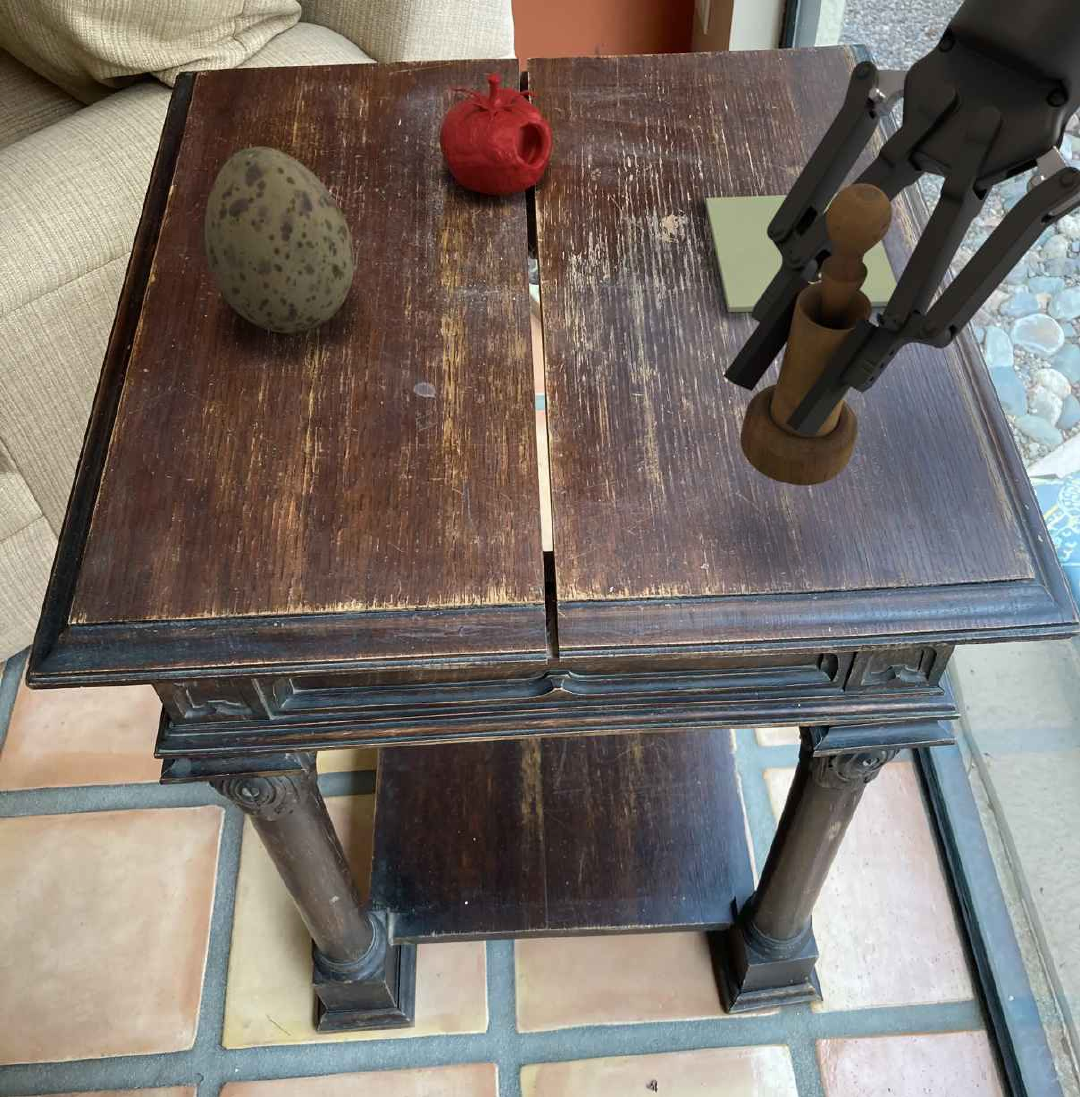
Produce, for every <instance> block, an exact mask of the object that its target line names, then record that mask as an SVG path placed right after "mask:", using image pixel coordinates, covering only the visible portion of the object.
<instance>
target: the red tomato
mask: <svg viewBox="0 0 1080 1097" xmlns="http://www.w3.org/2000/svg"><path fill="white" fill-rule="evenodd" d="M499 74H500V73H496V72H494V73H490V74H488V79H487V83H488V84H489V92H485V93H479V92H474V91H470V90H469V89H467V88H466V87H462V88H453V87H451V90H452V91H454V92H466V93H468V94H469V95H471V96H469V97H467V98H465V99H463V101H461V102H460V103H458V104H457V105H456V106H454V107H452V108H450V110H449V111H448V112H447V113H446V114H445V117H444V119H443V122H442V124H441V127H440V128H441V129H440V130H439V147H440V151H441V154H442V158H443V160H444V162H445V164H446V166H447V168H448V170H449V172H450V173H451V174H452V176H453V177H454V179H455V180H457V182H458V183H459V184H460V185H461V186H462V187H464V188H465V189H467V190H470V191H473V192H476V193H481V194H486V195H492V196H505V195H510V194H511V195H513V194H517V193H520V192H523V191H525V190H528V189H529V188H531V187H533V186H534V185H535V184H536V183H537V182H538V181H540V179H541V178H542V175H543V174H544V172H545V170H546V168H547V166H548V163H549V159H550V155H551V153H552V147H553V132H552V126H551V124H550V122H549V121H548V119H546V118H544V117H543V115H542V113H541V111H540V109H539V108H538V107H537V106H536V105H534V104H532V103H531V102H530V101H529V100H528V99H527V98H526V97H525V96H524V95H528V96H530V97H532V98H537V97H538V95H539V93H536V94H535V93H533V92H532V91H530V90H528V89H524V90H522V91H519V90H518V89H515V88H513V87H507V86H506V87H500V86H501V76H500V75H499Z"/></svg>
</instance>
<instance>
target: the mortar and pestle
mask: <svg viewBox="0 0 1080 1097" xmlns="http://www.w3.org/2000/svg"><path fill="white" fill-rule="evenodd" d="M850 185H851V184H850ZM850 185H848V186H847V187H845V188H843V189H841V190H840V191H838V192H837V193H838V194H837V195H836V196H835V197H834V199H833V200H832V201H831V203H830V205H829V207H828V210H827V215H826V226H827V230H828V233H829V236H830V238H831V241H832V243H833V245H834V255H833V256H830V257H828V258H827V259H825V260H824V262H823V264H822V269H821V282H817V283H814V284H811V285H809V286H807V287H806V288H804V289H803V290H802V291H801V292H800V294H799V296H798V298H797V301H796V306H795V310H794V314H793V319H792V323H791V327H790V331H789V336H788V340H787V342H786V344H785V348H784V353H783V356H782V361H781V365H780V368H779V371H778V377H777V381H776V383H775V384H772V385H769V386H767V387H765V388H763V389H762V390H760V391H759V392H757V393H756V394H755V395H754V396H752V398H751V399H750V401H749V403H748V405H747V407H746V410H745V413H744V418H743V422H742V426H741V431H740V438H739V439H740V440H739V441H740V447H741V450H742V452H743V454H744V457H745V459H746V460H747V461H748V462H749V464H750V465H751V466H752V467H753V468H754V469H755V470H756V471H757V472H759V473H761V474H762V475H763V476H765V477H767V478H769V479H771V480H772V481H773V480H774V481H776V482H779V483H785V484H789V485H790V484H791V485H795V486H814V485H819V484H822V483H823V484H824V483H825V482H829V481H831V480H833V479H834V478H836V477H837V476H838V475H840V474H841V473H842V472H843V471H844V470H845V468H846V467H847V465H848V464H849V462H850V460H851V457H852V454H853V450H854V447H855V444H856V441H857V438H858V433H859V425H858V421H857V417H856V414H855V412H854V411H853V409H852V408H851V406H850V405H849V404H848V403H847V402H846V401H845V398H846V394H845V395H844V396H843V398H842V399H841V400H840V402H839V403H838V404H837V406H836V407H835V408H834V410H833V411H832V412H831V414H830V415H829V416H828V418H827V419H826V421H825V422H824V423H823V425H822V426H821V427H820V429H819V430H818V431H817V433H816V434H815V435H814V437H812V436H810V435H807V434H804V433H801V432H799V431H796V430H795V429H793V428H792V427H791V426H789V425H788V424H787V423H786V421H787V420H788V419H789V417H790V416H791V415H792V413H793V412H794V410H795V409H796V408H797V406H798V405H799V404H800V402H801V401H802V400H803V398H804V397H805V395H806V394H807V393H808V391H809V390H810V389H811V387H812V386H813V384H814V383H815V382H816V380H817V379H818V378H819V376H820V375H821V373H822V372H823V371H824V369H825V368H826V367H827V365H828V364H829V363H830V361H831V360H832V358H833V357H834V356H835V354H836V353H837V352H838V350H839V349H840V347H841V346H842V345H843V343H844V342H845V341H846V339H847V338H848V336H849V335H850V334H851V332H852V331H853V330H854V328H855V327H856V326H857V324H858V323H859V321H860V320H861V319H862V317H863V318H865V319H866V320H868V321H869V322H870V320H871V318H872V317H871V316H872V312H873V307H872V306H871V302H870V300H869V298H868V297H867V296H866V295H865V294H864V293H863V292H862V291H861V290H860V289H861V287H862V285H863V283H864V281H865V279H866V277H867V274H868V270H867V267H866V265H865V264H864V263H863V257H864V254H865V253H866V252H868V251H869V250H870V249H871V248H873V247H874V246H875V245H876V244H877V243H878V242H879V241H880V240H881V241H882V240H883V239H884V237H885V236H886V235H887V233H888V231H889V230H890V227H891V224H892V220H893V209H892V205H891V202H890V201H889V199H888V197H887V196H886V195H885V193H884V192H883V191H882V190H880V189H879V188H877V187H875V186H873V185H870V184H854V185H851V186H850Z"/></svg>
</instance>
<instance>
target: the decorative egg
mask: <svg viewBox="0 0 1080 1097" xmlns="http://www.w3.org/2000/svg"><path fill="white" fill-rule="evenodd" d="M204 242H205V243H204V244H205V251H206V257H207V261H208V262H207V263H208V266H209V269H210V272H211V275H212V277H213V279H214V282H215V284H216V286H217V288H218V289H219V292H220V293H221V295H222V296H223V297H224V299H225V300H226V302H227V303H228V304H229V305H230V306H231V307H232V309H234V310H235V312H237V313H238V314H239V315H240V316H241V317H243V318H244V319H245V320H247V321H248V322H250V323H252V324H253V325H255V326H258V327H259V328H262V329H265V330H267V331H270V332H275V333H282V334H297V333H303V332H307V331H310V330H313V329H315V328H318V327H319V326H321V325H324V323H325V322H327V321H329V320H330V319H331V318H332V317H333V316H334V315H335V314H336V313H337V312H338V310H339V309H340V308H341V306H342V305H343V304H344V302H345V300H346V299H347V295H349V292H350V290H351V287H352V282H353V280H354V273H355V252H354V251H355V250H354V244H353V239H352V235H351V232H350V228H349V225H348V223H347V221H346V218H345V216H344V214H343V212H342V210H341V208H340V207H339V205H338V203H337V201H336V200H335V198H334V197H333V196H332V194H331V193H330V191H329V190H328V189H327V187H326V186H325V185H324V184H323V182H322V181H321V180H320V179H319V178H318V177H317V176H316V175H315V174H314V173H313V172H312V171H311V170H310V169H309V168H307V167H306V166H305V165H304V164H302V163H301V162H300V161H299V160H297V159H295V158H294V157H292V156H291V155H289V154H287V153H285V152H283V151H281V150H278V149H276V148H273V147H268V146H250V147H247V148H243V149H242V150H239V151H238V152H236V153H235V154H233V156H231V157H230V158H229V159H228V160H227V161H226V162H225V164H224V165H223V166H222V167H221V170H220V171H219V173H218V174H217V176H216V178H215V179H214V182H213V184H212V187H211V190H210V193H209V197H208V200H207V205H206V210H205V218H204Z"/></svg>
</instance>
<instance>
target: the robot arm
mask: <svg viewBox="0 0 1080 1097" xmlns="http://www.w3.org/2000/svg"><path fill="white" fill-rule="evenodd" d="M899 100H902V117H901V118H902V119H901V126H900V127H899V128H898V129H896V131H895V132H894V133H893V134H892V135H891V136H890V137H889V138H888V140H886V141H885V142H884V143H883V145H881V147H880V149H879V150H878V155H877V156H876V158H875V159H874V160H873V161H872V162H871V163H870V164H869V166H868V167H866V169H865V170H863V171H862V172H861V174H860V175H858V176H857V178H856V179H855V180H854V181H853V182H852V183H851V184H850V185H849V186H851V185H854V184H870V185H873V186H875V187H877V188H879V189H880V190H882V191H883V192H884V193H885V195H886V196H887V197H888V199H889V201H890V203H891V202H892V201H893V200H894V199H896V197H897V196H898V195H899V194H900V193H901V192H902V191H903V190H904V189H905V188H907V187H910V186H912V185H914V184H915V183H916V182H917V181H918V180H920V178H921V177H922V176H924V175H925V174H930V175H934V176H939V177H942V178H943V179H944V181H943V182H942V185H941V187H940V192H939V198H938V201H937V203H936V205H935V207H934V209H933V210H932V213H931V215H930V217H929V219H928V220H927V223H926V225H925V226H924V229H923V231H922V233H921V235H920V237H919V239H918V241H917V243H916V246H915V247H914V250H913V251H912V253H911V256H910V257H909V259H908V261H907V264H906V265H905V267H904V270H903V271H902V273H901V276H900V278H899V280H898V281H897V283H896V284H897V286H896V288H895V290H894V292H893V294H892V296H891V298H890V300H889V302H888V304H887V306H885V308H884V310H883V312H882V313H880V312H878V311H877V313H876V315H875V320H876V323H877V324H878V326H877V325H875V324H874V323H872V322H871V321H870V320H869V321H868V320H866V319H865V318H863V317H862V319H861V320H860V321H859V323H858V324H857V326H856V327H855V328H854V330H853V331H852V332H851V334H850V335H849V336H848V338H847V339H846V341H845V342H844V343H843V345H842V346H841V347H840V349H839V350H838V352H837V353H836V354H835V356H834V357H833V358H832V360H831V361H830V363H829V364H828V365H827V367H826V368H825V369H824V371H823V372H822V373H821V375H820V376H819V378H818V379H817V380H816V382H815V383H814V384H813V386H812V387H811V389H810V390H809V391H808V393H807V394H806V395H805V397H804V398H803V400H802V401H801V402H800V404H799V405H798V406H797V408H796V409H795V410H794V412H793V413H792V415H791V416H790V417H789V419H788V420H787V421H786V423H787V424H788V425H789V426H791V427H792V428H793V429H795V430H796V431H799V432H801V433H804V434H807V435H810V436H812V437H814V435H815V434H816V433H817V431H818V430H819V429H820V427H821V426H822V425H823V423H824V422H825V421H826V419H827V418H828V416H829V415H830V414H831V412H832V411H833V410H834V408H835V407H836V406H837V404H838V403H839V402H840V400H841V399H842V398H843V396H844V395H845V396H846V394H847V393H848V391H849V390H850V388H853V389H854V390H855V391H857V392H859V393H861V394H864V393H865V392H866V391H868V390H870V389H871V388H872V387H873V386H874V384H875V383H876V382H877V380H878V379H879V378H880V377H881V375H882V374H883V373H884V371H885V370H886V369H887V368H888V366H889V365H890V363H891V362H892V360H893V359H894V358H895V357H896V355H897V354H898V353H899V351H900V350H901V349H902V348H903V347H904V346H906V345H908V344H912V343H913V344H914V343H915V344H920V345H926V346H930V347H933V348H935V349H944V348H948V346H950V345H951V344H952V342H953V341H954V340H955V339H956V337H957V336H958V335H959V334H960V333H961V332H962V330H963V329H964V328H965V327H966V326H967V325H968V323H969V322H970V321H971V319H972V318H973V317H974V316H975V315H976V314H977V312H978V311H979V310H980V309H981V308H982V306H984V304H985V303H986V302H987V300H988V299H989V298H990V297H991V296H992V294H994V293H995V291H996V290H997V288H998V287H999V286H1000V285H1001V284H1002V283H1003V281H1004V280H1005V279H1006V278H1007V277H1008V275H1009V274H1010V273H1011V272H1012V270H1013V269H1014V268H1015V267H1016V266H1017V265H1018V264H1019V263H1020V261H1021V260H1022V259H1023V257H1024V256H1025V255H1026V254H1027V253H1028V251H1029V250H1030V249H1031V248H1032V246H1034V244H1036V242H1037V240H1038V239H1039V238H1040V237H1041V236H1042V235H1043V233H1044V232H1045V231H1046V230H1047V229H1048V228H1049V227H1051V226H1052V225H1054V224H1055V223H1056V222H1058V221H1059V220H1061V219H1062V218H1064V217H1065V216H1068V215H1069V214H1070V213H1072V212H1074V211H1075V210H1076V209H1078V208H1079V207H1080V169H1079V168H1077V167H1075V166H1071V165H1070V164H1069V162H1068V161H1067V160H1066V158H1065V157H1064V155H1063V154H1062V151H1060V150H1061V148H1062V145H1063V142H1064V137H1065V136H1064V135H1065V130H1066V128H1067V125H1068V123H1069V121H1070V120H1071V118H1072V117H1073V116H1074V114H1076V112H1077V111H1078V110H1079V109H1080V0H963V2H962V3H961V5H960V6H959V8H957V11H956V12H955V13H954V15H953V16H952V18H950V21H949V22H948V23H947V26H946V27H945V29H944V31H943V33H942V35H941V37H940V39H939V41H938V43H936V45H935V47H933V49H931V51H929V52H928V53H927V54H925V56H923V57H921V58H919V59H918V60H916V61H915V62H914V63H912V65H911V66H910V67H909V69H908V70H907V69H905V70H904V69H878V68H877V67H876V66H875V64H874V63H873V62H872V61H870V60H862V61H860V62H858V63H857V64H856V65H855V66H854V68H853V69H852V72H851V75H850V79H849V83H848V87H847V91H846V93H845V97H844V101H843V105H842V106H841V108H840V110H839V111H838V113H837V114H836V116H835V118H834V119H833V121H832V122H831V124H830V126H829V127H828V129H827V131H826V132H825V133H824V135H823V137H822V139H821V140H820V142H819V143H818V145H817V147H816V148H815V150H814V151H813V153H812V155H811V156H810V158H809V160H808V161H807V163H806V164H805V166H804V167H803V169H802V171H801V172H800V174H799V175H798V177H797V178H796V180H795V182H794V184H793V185H792V186H791V188H790V190H789V192H788V194H786V195H787V197H786V198H785V200H784V201H783V203H782V205H781V206H780V208H779V209H778V211H777V213H776V214H775V216H774V217H773V219H772V221H771V222H770V224H769V226H768V228H767V235H768V237H769V238H770V239H771V240H772V241H773V243H774V244H775V246H776V247H777V249H778V250H779V252H780V253H781V255H782V265H781V267H780V269H779V271H778V272H777V274H776V275H775V277H774V278H773V280H772V281H771V282H770V284H769V285H768V287H767V288H766V290H765V292H764V293H763V294H762V295H761V298H759V300H758V301H757V303H756V304H755V306H754V307H753V311H751V315H750V317H751V318H752V319H754V320H755V321H757V322H758V325H757V326H756V328H755V329H754V330H753V332H752V333H751V334H750V336H749V338H748V339H747V341H746V342H745V343H744V345H743V346H742V348H741V349H740V350H739V352H738V354H737V355H736V357H735V358H734V359H733V361H732V362H731V364H730V365H729V367H728V368H727V369H726V371H725V372H724V374H723V376H722V377H724V379H726V380H728V381H729V382H730V383H732V384H734V385H736V386H739V387H740V388H743V389H744V390H748V391H750V392H752V391H754V389H755V387H756V386H757V384H759V382H760V380H761V379H762V378H763V376H764V375H765V373H766V372H767V371H768V369H769V367H770V366H771V365H772V363H773V362H774V361H775V359H776V358H777V357H778V355H779V354H780V352H781V351H782V350H783V349H784V347H785V346H786V344H787V340H788V336H789V331H790V327H791V323H792V319H793V314H794V310H795V306H796V301H797V298H798V296H799V294H800V292H801V291H802V290H803V289H804V288H806V287H807V286H809V285H811V283H809V282H812V283H816V282H819V281H820V280H821V278H820V277H819V274H820V273H821V269H822V264H823V262H824V260H825V259H827V258H828V257H830V256H833V255H834V245H833V243H832V241H831V238H830V236H829V233H828V230H827V226H826V215H827V210H828V209H827V210H826V211H825V209H826V208H827V206H828V205H829V203H830V202H831V200H832V198H833V197H834V195H835V194H836V193H838V192H839V189H840V188H841V186H842V184H843V183H844V181H845V180H846V178H847V177H848V175H849V173H850V172H851V170H852V169H853V167H854V166H855V164H856V162H857V161H858V159H859V158H860V156H861V154H862V153H863V151H864V149H865V148H866V147H867V145H868V143H869V142H870V140H871V139H872V137H873V135H874V134H875V131H876V129H877V127H878V124H879V122H880V119H881V117H887V116H889V115H890V114H891V113H892V110H893V108H894V106H895V104H896V103H897V102H898V101H899ZM1036 167H1037V168H1036ZM1034 168H1036V170H1035V173H1034V174H1033V175H1032V176H1031V177H1030V178H1029V179H1028V180H1027V183H1026V187H1025V189H1026V193H1025V194H1024V195H1023V196H1022V197H1021V198H1020V199H1019V200H1018V201H1017V202H1016V203H1015V204H1014V205H1013V207H1012V208H1011V209H1010V210H1008V212H1007V214H1006V215H1005V216H1004V217H1003V219H1002V220H1000V223H998V224H997V226H996V227H995V228H994V230H993V231H992V232H991V233H990V235H988V237H987V238H986V239H985V241H984V242H983V243H982V244H981V245H980V247H979V248H978V249H977V250H976V252H974V254H973V255H972V257H970V259H969V260H968V261H967V263H965V265H964V266H963V267H962V268H961V270H960V271H959V273H957V275H956V276H955V277H954V278H953V280H952V281H951V282H950V284H949V285H948V286H947V287H946V288H945V289H944V290H943V292H942V293H941V294H940V296H939V297H938V298H937V300H936V301H935V302H934V303H933V304H932V305H931V303H932V302H933V300H934V297H935V295H936V293H937V292H938V289H939V288H940V286H941V283H942V281H943V280H944V278H945V275H946V273H947V272H948V270H949V268H950V266H951V263H952V262H953V259H954V258H955V256H956V254H957V252H958V250H959V248H960V245H961V243H962V242H963V240H964V238H965V237H966V234H967V232H968V230H969V228H970V226H971V224H972V222H973V221H974V220H975V219H976V218H977V217H978V216H979V214H980V213H981V211H982V209H983V207H984V205H985V203H986V201H987V199H988V197H989V195H990V194H991V191H992V189H993V187H995V186H997V185H999V184H1000V183H1003V182H1005V181H1007V180H1010V179H1013V178H1014V177H1017V176H1019V175H1022V174H1023V173H1025V172H1028V171H1030V170H1032V169H1034ZM824 211H825V212H824ZM930 305H931V306H930ZM929 307H930V308H929Z"/></svg>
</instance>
